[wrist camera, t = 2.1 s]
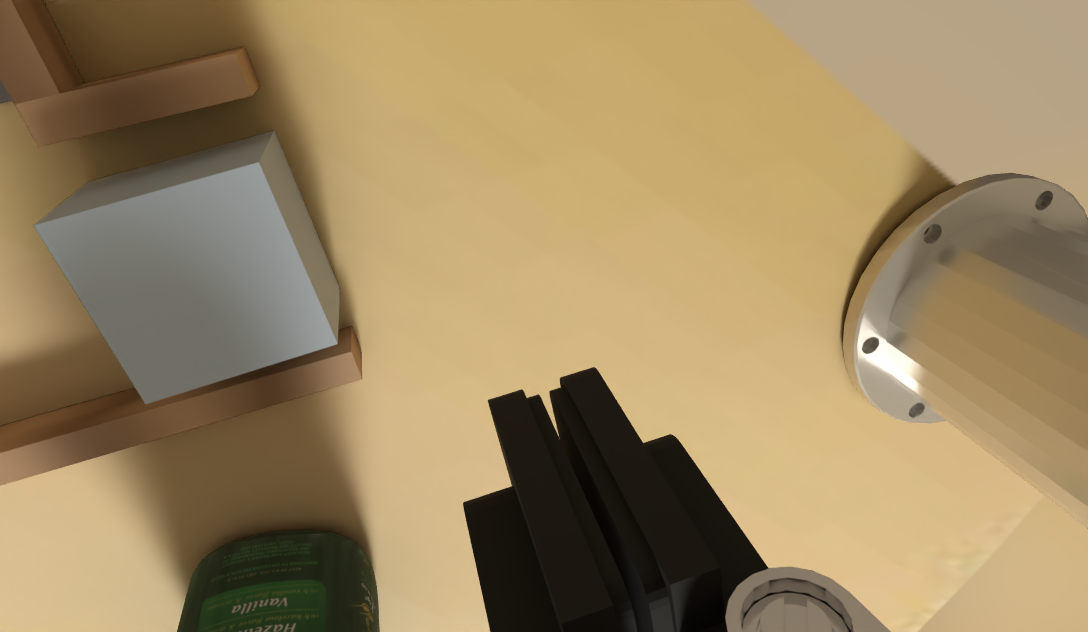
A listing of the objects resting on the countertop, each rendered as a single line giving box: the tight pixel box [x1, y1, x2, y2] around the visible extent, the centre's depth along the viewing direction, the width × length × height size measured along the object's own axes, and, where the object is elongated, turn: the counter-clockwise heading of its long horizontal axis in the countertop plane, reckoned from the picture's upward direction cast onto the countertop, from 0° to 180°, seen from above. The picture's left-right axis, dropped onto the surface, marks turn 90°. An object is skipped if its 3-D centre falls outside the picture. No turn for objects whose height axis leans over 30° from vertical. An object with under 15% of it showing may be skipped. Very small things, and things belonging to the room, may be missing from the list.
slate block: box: [33, 131, 340, 404], centre depth 22 cm, size 6×6×4 cm
